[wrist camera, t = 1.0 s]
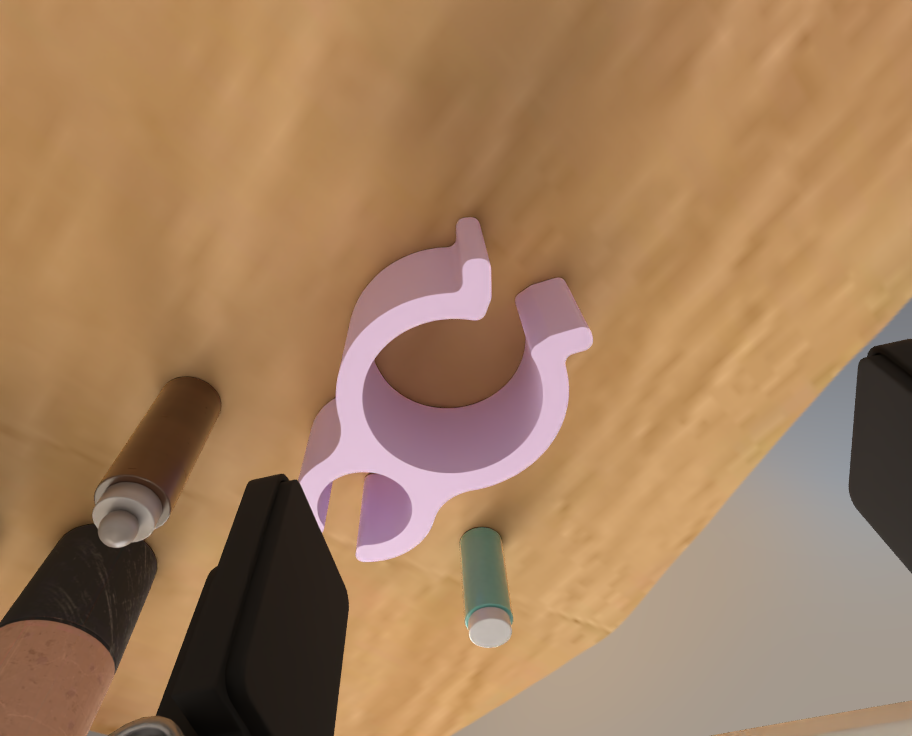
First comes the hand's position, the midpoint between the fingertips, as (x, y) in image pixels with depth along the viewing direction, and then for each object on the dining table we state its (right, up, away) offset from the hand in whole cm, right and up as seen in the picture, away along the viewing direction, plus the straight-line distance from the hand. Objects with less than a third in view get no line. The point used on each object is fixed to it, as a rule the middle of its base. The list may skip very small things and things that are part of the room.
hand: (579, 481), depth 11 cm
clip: (-4, +2, +32) cm, 32 cm away
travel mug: (-28, -12, +38) cm, 49 cm away
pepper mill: (-19, 0, +32) cm, 37 cm away
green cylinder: (0, -11, +39) cm, 41 cm away
